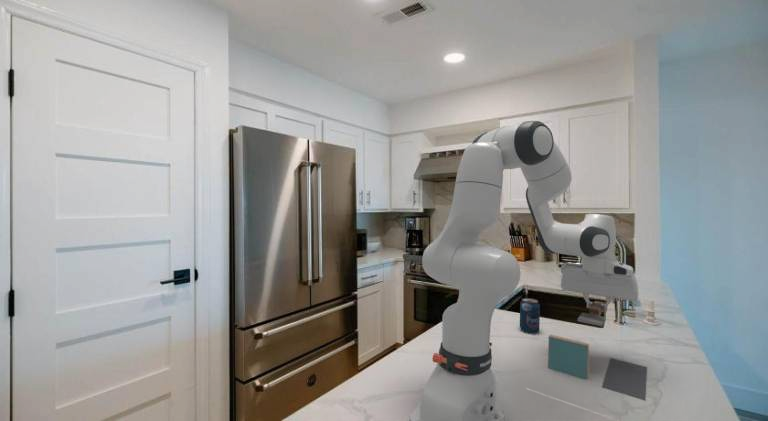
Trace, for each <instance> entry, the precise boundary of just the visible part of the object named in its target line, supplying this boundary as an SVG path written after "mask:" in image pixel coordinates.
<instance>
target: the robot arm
mask: <svg viewBox="0 0 768 421" xmlns="http://www.w3.org/2000/svg"><path fill="white" fill-rule="evenodd" d="M513 169H520V170H521V173H522V175H523V177H524V179H525V181H526V184H527V188H526V191H525V199H526V203H527V207H528V210H529V212H530V216H531V217H532V220H533V224H534V226H535V230H536V233H537V239H538V243H539V246H540V247H541V248H542V250H543V251H544V252H545V253H548V254H556V255H557V254H558V255H559V254H560V255H561V254H562V255H567V256H576V257H581V263H580V262H571V261H566V262H564V263H562V264H561V266H560V272H561V274H562V275H561V281H560V287H561V289H562V290H563V291H567V292H574V293H579V294H582V297H583V300H585V302H586V309H590V307H591V306H592V305H593V303H594V301H590V299H589V296H590V295H593V296H597V297H605V301H606V302H605V303H604V304H602V305H601V310H602V311H603V312H608V307H609V305H610V304H611V302H612V301H613V299H618V300H624V301H630V302H636V301H637V300H638V299H639V287H638V286H639V285H638V280H637V278H636V277H635V276H634V274H633V273H634V267H633V266H631V265H628V264H625V263H623V262H621V261H618V260H616V253H615V247H616V243H617V231H616V228H617V227H616V222H615V219H614V217H613V216H611V215H609V214H605V213H599V212H597V213H596V212H590V213H586V214H585V215H584V219H583V221H581V222H578V223H563V222H559V221H556V220H555V219H554V216H553V214H552V211H551V207H550V205H549V202H551V201H553V200H555V199H557V198H559V197H560V196H561V195H563V194H564V193H565V192H566V191H567V190H568V188H569V187H570V185H571V182H572V179H573V178H572V173H571V172H572V171H571V169H570V167H569V164H568V162H567V160H566V158H565V156H564V155H563V153H562V151H561V149H560V148H559V146H558V145H557V143H556V142H555V141H554V135H553V133H552V131H551V129H550V128H549V126H547V125H546V124H545V123H544V122H542V121H539V120H527V121H523V122H521V123H516V124H511V125H505V126H501V127H498V128H495V129H492V130H491V131H487V132H486V131H485V132H483V133H482V134H479V135H478V136H477V137H476V138H474V139H473V141H472V142H471V144H469V145H468V146H467V147H465V149H464V151H463V154H462V155H461V159H460V161H459V165H458V169H457V173H456V178H455V183H454V191H453V195H452V201H451V207H450V213H449V215H448V218H447V220H446V223H445V225H444V227H443V229H442V231H441V232H440V234H439V235H438V237H436V239H435V240H434V241H432V242H431V243H430V244H429V245H428V246H426V247H425V249H424V251H423V253H422V254H423V255H422V260H421V263H422V264H421V265H422V269H423V271H424V272H425V274H426V275H427V276H429V277H430V278H432V279H433V280H435V281H437V282H438V283H440V284H444V285H447V286H451V287H454V288H458V292H459V294H458V298H457V300H456V301H457V302H455V303H453V304H451V305H449V306H448V307H447V308H445V310H444V312H443V313H442V319H441V320H442V326H441V327H442V330H441V332H442V333H441V339H442V340H441V343H440V346H439V349H438V352H437V353H436V352H435V353H433V354H432V362H433V363H434V364H435V363H436V366H435V368H434V369H433V371H432V372H431V375H430V376H429V379H428V381H427V382H426V385H425V387H424V389H423V390H422V392H421V399H420V401H419V402H418V404H417V405H416V407H415V408H414V410H413V411H412V412H411V414H410V415H409V421H505V415H504V413H503V412H502V411H501V410H500V409H499V396H498V395H499V394H498V381H497V378H496V377H495V375H494V373H493V372H492V368H491V367H492V360H493V355H492V349H491V347H490V343H491V341H490V339H491V327H492V326H491V324H492V318H493V315H494V312H495V309H496V307H497V305H498V304H499V303H500V302H501V301H502V300H503V299H504V298H506V297H508V296H509V295H511V294H512V293H513V292H514V291H515V290H516V289H517V287H518V285H519V282H520V279H521V267H520V264H519V262H518V259H517V258H516V257H515V255H514V254H513V253H510V252H508V251H507V250H504V249H501V248H499V247H496V246H492V245H485V244H484V245H483V244H477V242H478V240H479V239H480V237H481V235H482V234H483V232H484V231H486V230H487V229H489V228H491V227H493V226H494V224H496V222H497V221H498V217H499V212H500V206H501V198H502V190H503V182H504V179H503V178H504V171H505V170H513Z"/></svg>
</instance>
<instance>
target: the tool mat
mask: <svg viewBox="0 0 768 421" xmlns="http://www.w3.org/2000/svg"><path fill="white" fill-rule="evenodd" d="M647 374H648V366H645V365H640V364H636V363H632V362H628V361H625V360H622V359H621V360H620V359H616V358H613V357H610V358H609V362H608V366H607V368H606V372H605V374H604V378H603V381H602V385H601V388H602V389H606V390H609V391H612V392H616V393H620V394H623V395H626V396H629V397H632V398H636V399H638V400H642V401H646V397H647V396H646V394H647V379H648V378H647V376H648V375H647Z"/></svg>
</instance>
